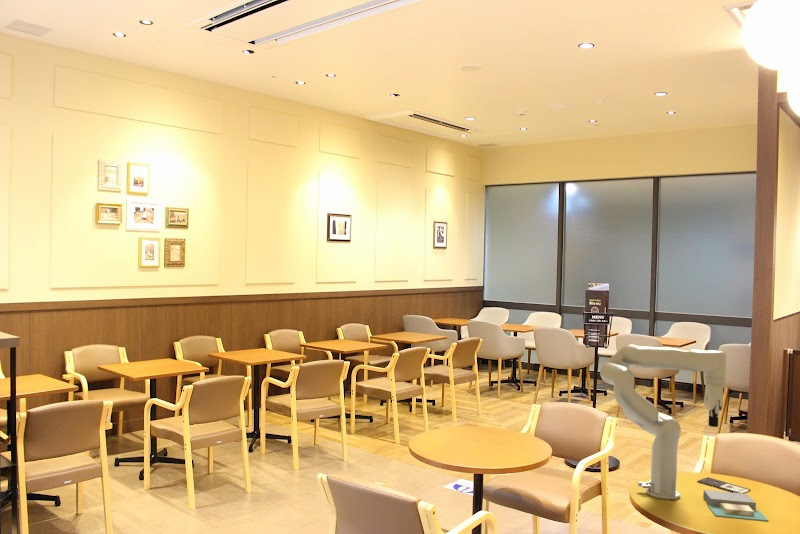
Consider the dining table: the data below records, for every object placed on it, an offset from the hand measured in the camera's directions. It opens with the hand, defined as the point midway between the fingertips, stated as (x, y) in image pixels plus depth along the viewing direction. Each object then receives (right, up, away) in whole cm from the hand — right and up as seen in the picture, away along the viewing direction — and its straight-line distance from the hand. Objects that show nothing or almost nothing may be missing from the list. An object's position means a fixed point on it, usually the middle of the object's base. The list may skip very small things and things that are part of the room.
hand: (713, 426), depth 269 cm
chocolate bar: (+9, -28, +9) cm, 31 cm away
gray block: (0, -27, -12) cm, 30 cm away
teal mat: (-1, -27, -22) cm, 35 cm away
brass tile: (-1, -27, -21) cm, 34 cm away
